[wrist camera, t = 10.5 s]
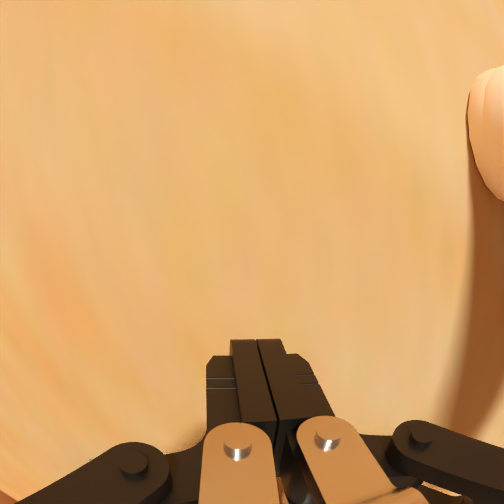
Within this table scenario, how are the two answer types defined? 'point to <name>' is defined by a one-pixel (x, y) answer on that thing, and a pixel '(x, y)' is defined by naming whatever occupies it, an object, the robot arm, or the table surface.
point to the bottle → (488, 128)
